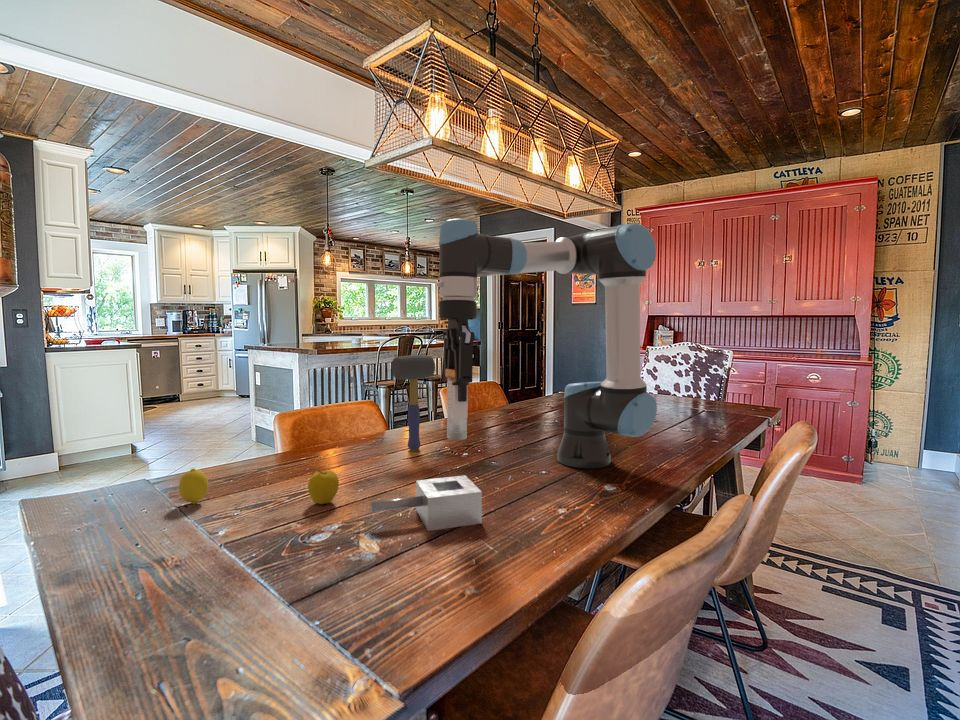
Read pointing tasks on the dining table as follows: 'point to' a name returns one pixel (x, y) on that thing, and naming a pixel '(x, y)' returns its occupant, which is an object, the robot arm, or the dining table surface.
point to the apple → (323, 486)
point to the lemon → (193, 486)
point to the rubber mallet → (413, 388)
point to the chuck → (441, 502)
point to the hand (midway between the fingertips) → (457, 415)
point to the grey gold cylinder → (454, 425)
